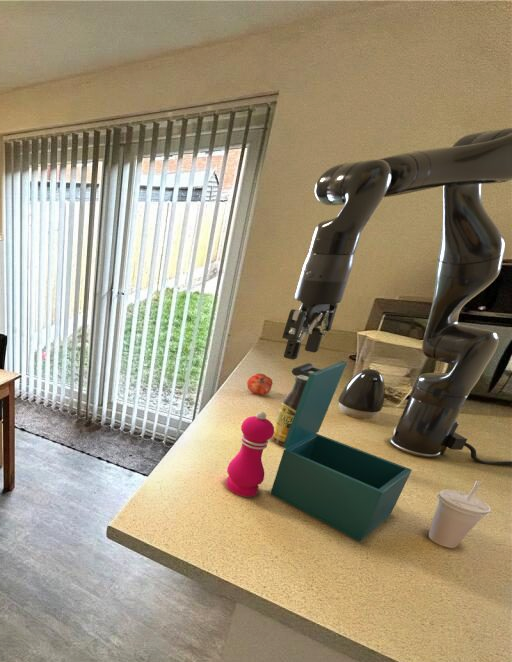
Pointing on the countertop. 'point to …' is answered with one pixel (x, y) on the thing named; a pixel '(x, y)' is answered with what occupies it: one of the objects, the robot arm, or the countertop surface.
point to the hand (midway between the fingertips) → (300, 354)
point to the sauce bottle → (288, 410)
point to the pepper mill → (250, 456)
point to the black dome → (363, 395)
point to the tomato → (259, 384)
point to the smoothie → (456, 516)
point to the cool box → (339, 484)
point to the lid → (313, 400)
